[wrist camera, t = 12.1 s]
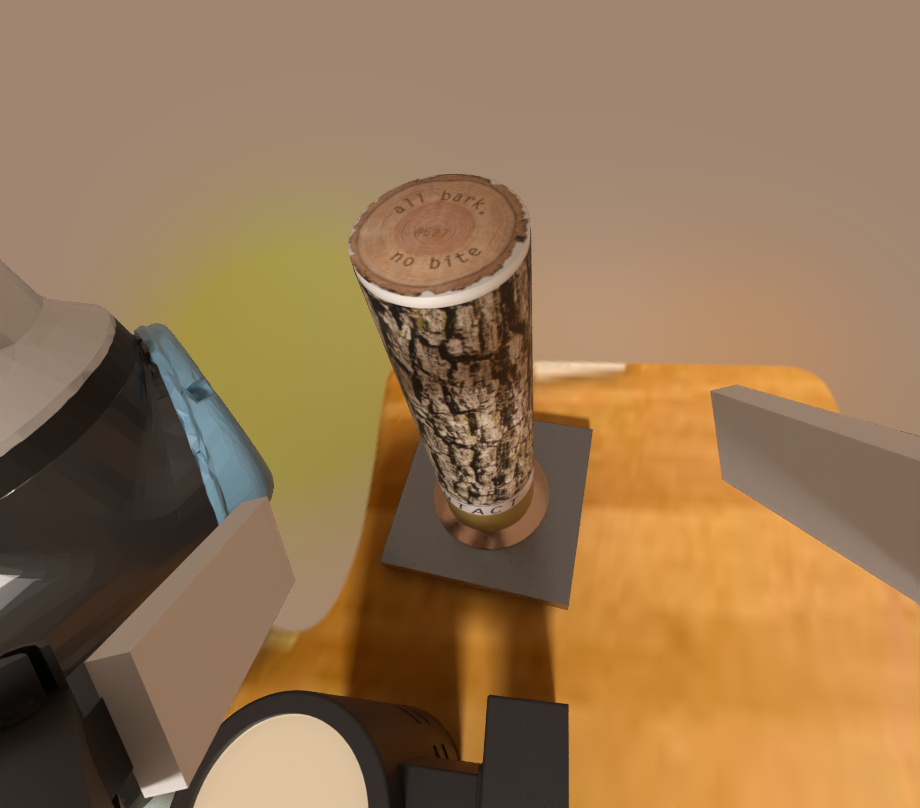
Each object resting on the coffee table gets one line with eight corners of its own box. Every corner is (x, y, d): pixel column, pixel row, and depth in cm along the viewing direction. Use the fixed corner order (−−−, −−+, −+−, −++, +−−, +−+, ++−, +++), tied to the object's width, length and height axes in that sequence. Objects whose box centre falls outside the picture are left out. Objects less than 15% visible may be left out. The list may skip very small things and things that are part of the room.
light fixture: (354, 684, 35) (216, 654, 20) (556, 709, 33) (568, 695, 18) (318, 871, 30) (100, 1013, 15) (554, 915, 28) (569, 1136, 13)
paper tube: (460, 446, 42) (383, 169, 21) (541, 461, 40) (546, 177, 19) (436, 523, 39) (318, 286, 18) (523, 544, 37) (507, 309, 16)
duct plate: (385, 566, 39) (379, 560, 38) (433, 414, 46) (430, 404, 45) (567, 609, 36) (568, 605, 35) (591, 438, 43) (592, 428, 41)
